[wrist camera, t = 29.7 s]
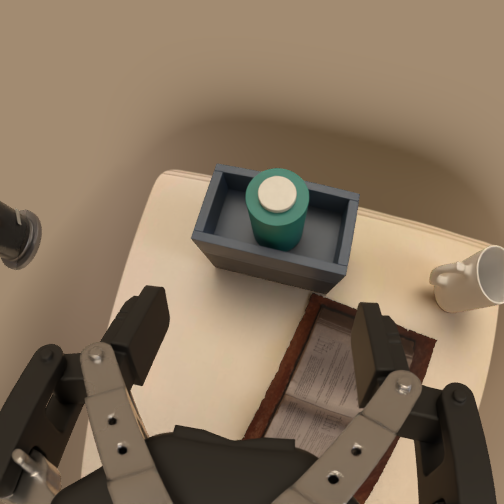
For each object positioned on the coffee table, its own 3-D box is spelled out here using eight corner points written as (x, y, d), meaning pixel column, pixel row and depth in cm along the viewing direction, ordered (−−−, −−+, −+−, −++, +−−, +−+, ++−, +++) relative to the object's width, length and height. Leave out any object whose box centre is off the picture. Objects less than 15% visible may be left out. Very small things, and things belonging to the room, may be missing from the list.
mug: (471, 274, 40) (518, 253, 28) (465, 318, 38) (515, 309, 27) (416, 257, 41) (456, 230, 30) (408, 304, 40) (450, 290, 28)
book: (435, 339, 38) (449, 337, 34) (354, 516, 32) (359, 530, 27) (305, 291, 43) (306, 284, 39) (223, 473, 36) (216, 485, 32)
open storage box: (214, 266, 43) (190, 238, 31) (232, 208, 45) (216, 163, 33) (326, 294, 41) (345, 275, 29) (339, 233, 43) (359, 193, 31)
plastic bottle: (291, 260, 34) (295, 233, 25) (244, 241, 35) (233, 208, 26) (310, 216, 35) (319, 178, 27) (265, 198, 36) (260, 156, 28)
